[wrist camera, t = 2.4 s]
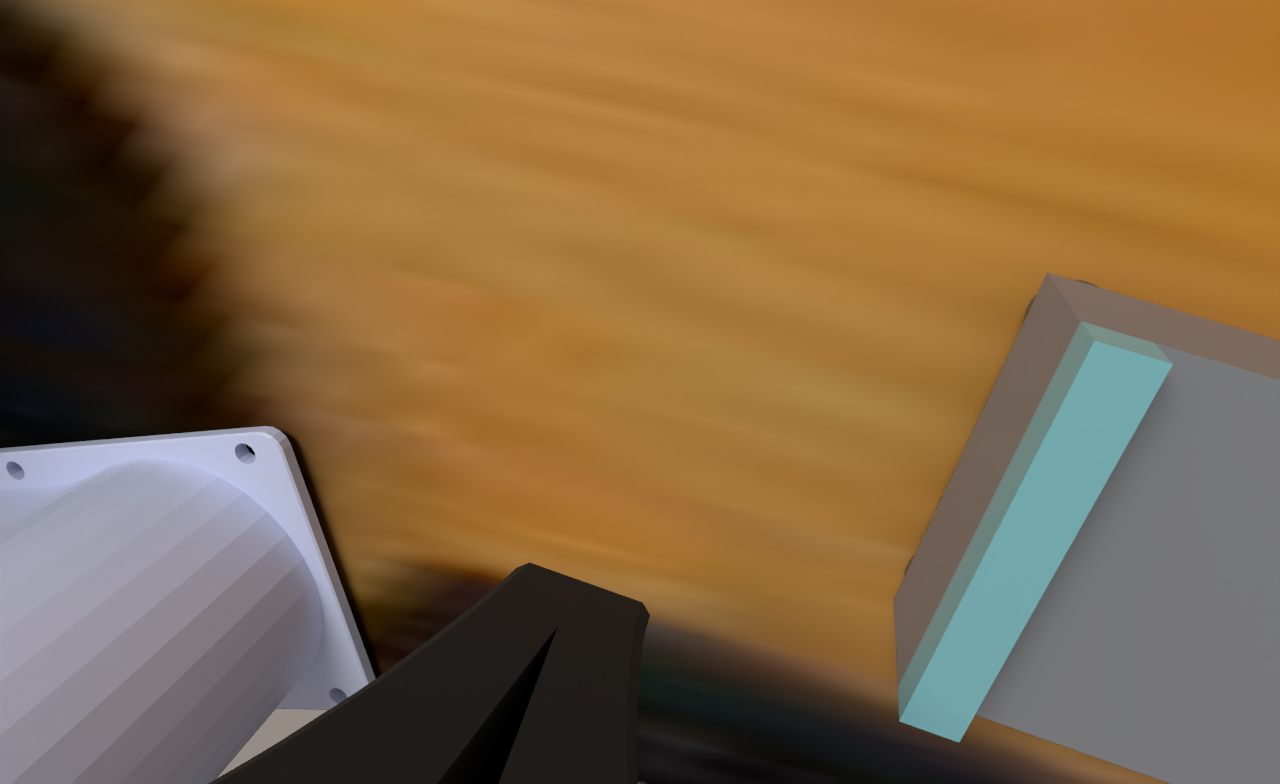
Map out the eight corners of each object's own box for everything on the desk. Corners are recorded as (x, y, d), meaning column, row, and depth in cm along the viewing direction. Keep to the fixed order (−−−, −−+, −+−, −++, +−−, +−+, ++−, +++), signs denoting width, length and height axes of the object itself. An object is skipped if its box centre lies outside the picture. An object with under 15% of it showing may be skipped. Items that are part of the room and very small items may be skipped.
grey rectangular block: (892, 577, 18) (899, 721, 14) (1038, 259, 15) (1094, 340, 11) (1397, 747, 17) (1544, 951, 13) (1668, 443, 14) (1956, 598, 10)
